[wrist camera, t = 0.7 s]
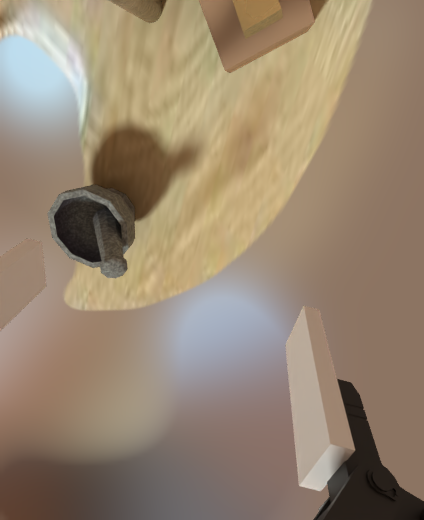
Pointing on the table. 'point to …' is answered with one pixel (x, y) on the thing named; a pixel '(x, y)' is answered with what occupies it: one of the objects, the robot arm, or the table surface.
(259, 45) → the block
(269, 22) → the golden rectangular bar
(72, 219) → the mortar and pestle
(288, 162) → the table surface
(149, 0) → the red-capped peg
